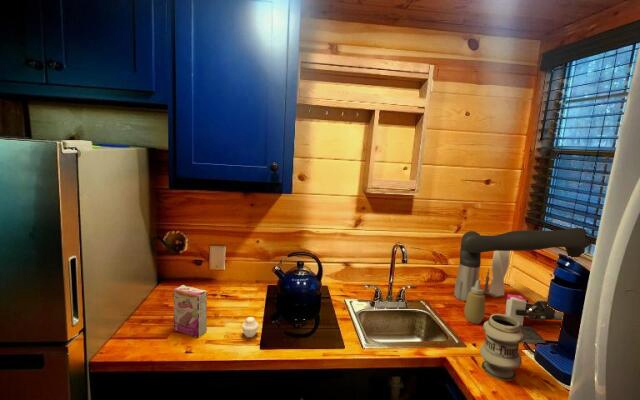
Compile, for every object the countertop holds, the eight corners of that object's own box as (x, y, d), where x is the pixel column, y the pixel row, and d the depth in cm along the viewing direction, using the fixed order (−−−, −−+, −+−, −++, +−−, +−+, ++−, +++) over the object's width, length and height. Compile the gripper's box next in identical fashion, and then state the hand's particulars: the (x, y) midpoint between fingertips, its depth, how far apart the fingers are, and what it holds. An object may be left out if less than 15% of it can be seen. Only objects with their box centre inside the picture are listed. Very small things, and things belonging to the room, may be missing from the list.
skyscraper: (494, 289, 180) (501, 238, 175) (508, 296, 172) (515, 242, 168) (483, 291, 176) (489, 239, 172) (496, 298, 169) (504, 244, 165)
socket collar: (517, 342, 129) (518, 338, 129) (505, 328, 139) (505, 325, 139) (544, 344, 129) (545, 340, 129) (530, 330, 139) (530, 327, 139)
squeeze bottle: (483, 318, 147) (488, 279, 144) (483, 327, 139) (489, 285, 137) (463, 314, 150) (468, 275, 147) (462, 322, 143) (467, 281, 140)
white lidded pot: (241, 340, 121) (241, 322, 120) (241, 331, 127) (241, 313, 126) (258, 339, 122) (259, 321, 121) (258, 330, 128) (258, 312, 127)
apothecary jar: (471, 359, 117) (477, 310, 114) (504, 359, 118) (511, 311, 115) (490, 383, 105) (498, 329, 102) (527, 383, 106) (536, 330, 103)
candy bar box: (173, 331, 124) (172, 289, 122) (182, 325, 129) (182, 284, 126) (198, 338, 121) (198, 295, 118) (207, 331, 125) (207, 289, 123)
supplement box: (523, 327, 142) (527, 301, 140) (507, 324, 143) (511, 299, 141) (518, 320, 147) (521, 295, 145) (503, 318, 148) (506, 293, 147)
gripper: (541, 295, 150) (504, 292, 151) (562, 310, 136) (521, 307, 136) (539, 311, 151) (501, 308, 152) (559, 327, 137) (518, 324, 138)
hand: (511, 307), depth 144 cm, fingers open, 8 cm apart
